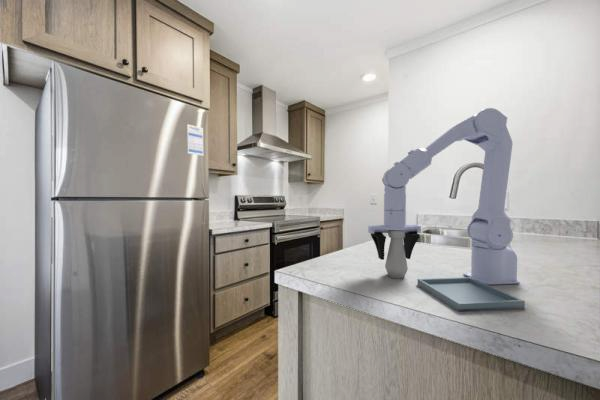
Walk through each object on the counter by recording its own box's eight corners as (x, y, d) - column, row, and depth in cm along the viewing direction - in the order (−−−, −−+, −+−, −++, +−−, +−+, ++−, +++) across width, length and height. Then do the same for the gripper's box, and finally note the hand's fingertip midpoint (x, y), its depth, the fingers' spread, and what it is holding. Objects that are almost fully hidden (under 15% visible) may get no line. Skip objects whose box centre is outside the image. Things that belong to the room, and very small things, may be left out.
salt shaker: (409, 280, 65) (410, 231, 64) (386, 278, 66) (387, 230, 65) (404, 273, 70) (405, 228, 70) (383, 272, 72) (384, 227, 71)
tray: (469, 282, 63) (469, 277, 63) (524, 308, 49) (524, 300, 49) (417, 285, 61) (417, 279, 61) (459, 311, 47) (459, 304, 47)
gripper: (411, 209, 73) (410, 254, 74) (364, 209, 72) (364, 255, 72) (425, 210, 66) (425, 260, 67) (374, 211, 65) (373, 262, 65)
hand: (394, 258), depth 69 cm, fingers open, 7 cm apart
